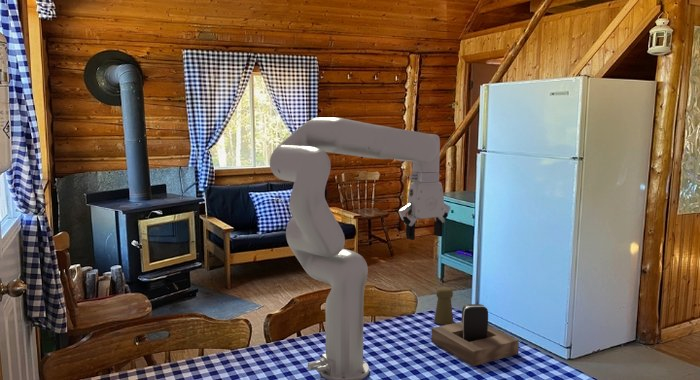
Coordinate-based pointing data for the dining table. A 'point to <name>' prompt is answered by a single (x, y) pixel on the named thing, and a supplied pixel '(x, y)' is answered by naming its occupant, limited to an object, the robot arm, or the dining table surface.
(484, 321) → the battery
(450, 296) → the cork
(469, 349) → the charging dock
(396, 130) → the robot arm
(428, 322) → the dining table surface
